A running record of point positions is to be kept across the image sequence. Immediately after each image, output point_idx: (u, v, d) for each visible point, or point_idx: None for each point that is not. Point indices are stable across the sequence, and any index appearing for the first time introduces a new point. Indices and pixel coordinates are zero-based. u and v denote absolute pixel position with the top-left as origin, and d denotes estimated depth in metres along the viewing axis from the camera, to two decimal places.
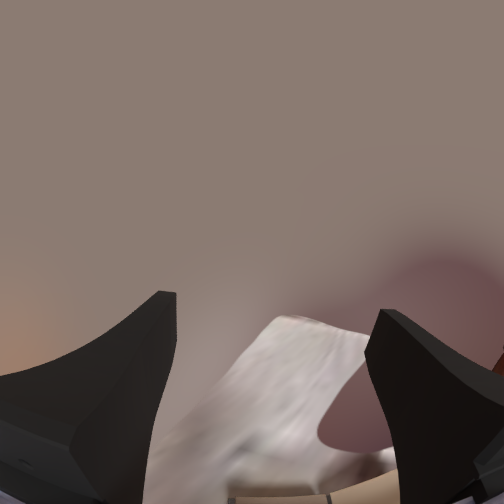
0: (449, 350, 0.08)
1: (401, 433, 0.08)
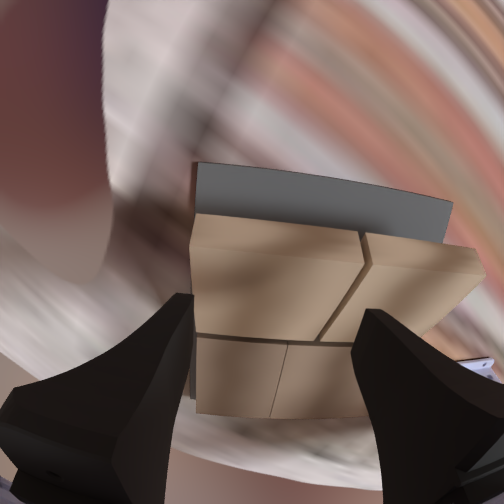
0: (434, 351, 0.07)
1: (385, 435, 0.08)
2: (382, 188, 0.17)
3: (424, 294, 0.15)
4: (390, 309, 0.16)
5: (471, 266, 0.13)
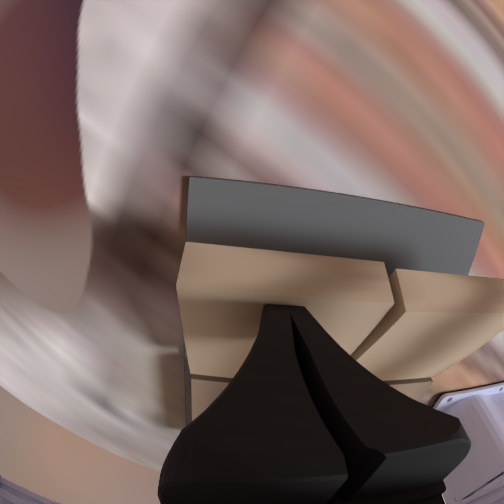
0: (341, 353, 0.07)
1: None
2: (409, 208, 0.14)
3: (455, 336, 0.12)
4: (416, 352, 0.13)
5: None
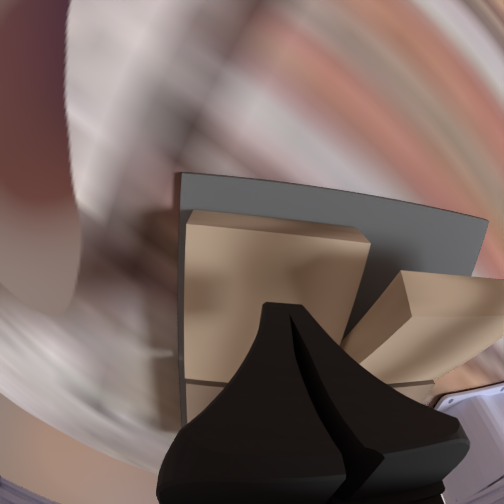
0: (340, 353, 0.07)
1: None
2: (412, 205, 0.13)
3: (461, 339, 0.11)
4: (419, 355, 0.12)
5: None
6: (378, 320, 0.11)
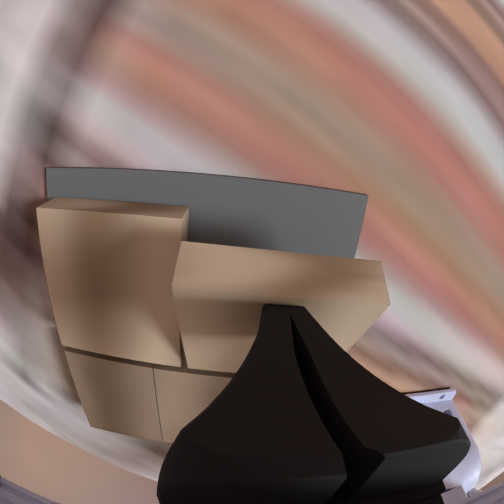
0: (340, 353, 0.07)
1: None
2: (251, 180, 0.14)
3: None
4: (248, 341, 0.13)
5: (362, 289, 0.10)
6: None
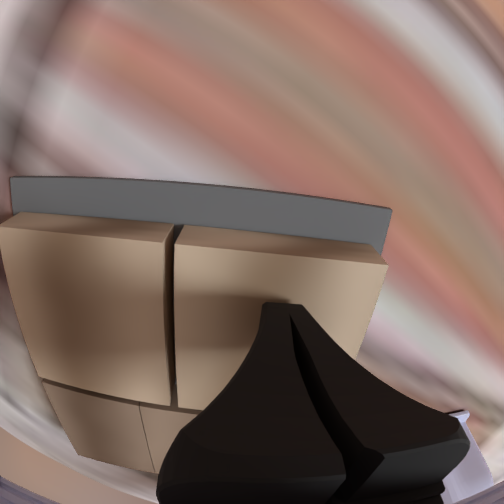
0: (340, 353, 0.07)
1: None
2: (251, 192, 0.11)
3: None
4: (248, 343, 0.11)
5: (358, 256, 0.11)
6: None
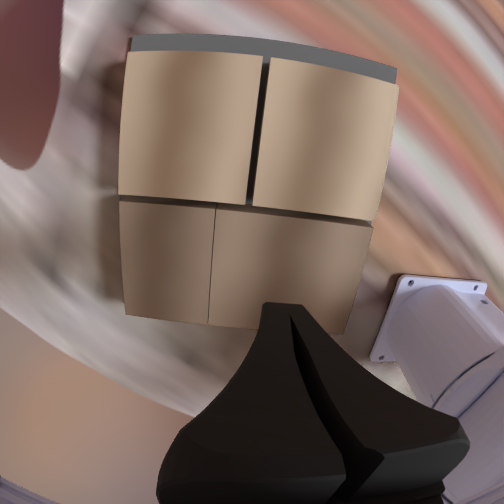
0: (340, 353, 0.07)
1: None
2: (310, 47, 0.15)
3: (342, 107, 0.15)
4: (315, 132, 0.16)
5: None
6: (264, 98, 0.16)
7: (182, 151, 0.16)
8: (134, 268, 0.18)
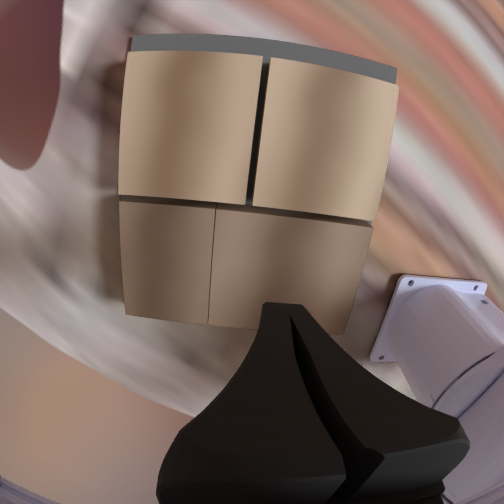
0: (340, 353, 0.07)
1: None
2: (310, 47, 0.15)
3: (342, 107, 0.15)
4: (315, 132, 0.16)
5: None
6: (264, 98, 0.16)
7: (182, 151, 0.16)
8: (134, 268, 0.18)
